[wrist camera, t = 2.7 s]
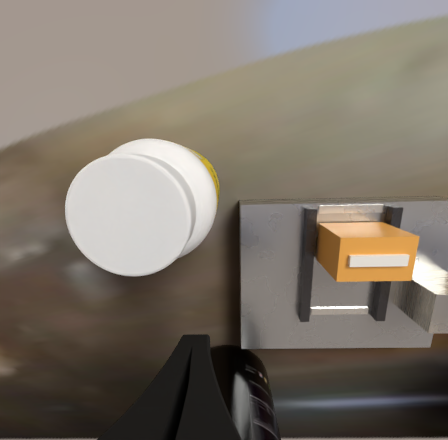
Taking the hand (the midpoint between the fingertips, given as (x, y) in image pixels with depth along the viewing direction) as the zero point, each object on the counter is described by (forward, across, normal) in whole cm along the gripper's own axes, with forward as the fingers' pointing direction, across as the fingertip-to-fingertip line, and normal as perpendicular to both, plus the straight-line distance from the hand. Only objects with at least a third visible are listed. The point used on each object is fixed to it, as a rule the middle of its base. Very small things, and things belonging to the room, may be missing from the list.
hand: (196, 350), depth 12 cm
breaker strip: (+7, -10, -1) cm, 12 cm away
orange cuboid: (+5, -10, -4) cm, 11 cm away
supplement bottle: (+7, +1, -8) cm, 10 cm away
